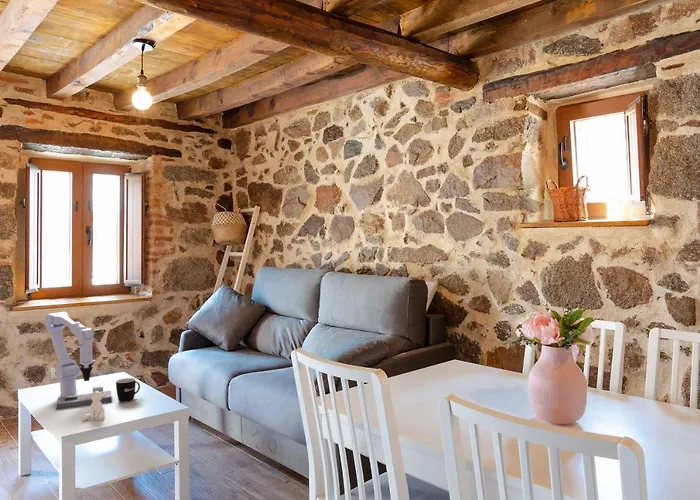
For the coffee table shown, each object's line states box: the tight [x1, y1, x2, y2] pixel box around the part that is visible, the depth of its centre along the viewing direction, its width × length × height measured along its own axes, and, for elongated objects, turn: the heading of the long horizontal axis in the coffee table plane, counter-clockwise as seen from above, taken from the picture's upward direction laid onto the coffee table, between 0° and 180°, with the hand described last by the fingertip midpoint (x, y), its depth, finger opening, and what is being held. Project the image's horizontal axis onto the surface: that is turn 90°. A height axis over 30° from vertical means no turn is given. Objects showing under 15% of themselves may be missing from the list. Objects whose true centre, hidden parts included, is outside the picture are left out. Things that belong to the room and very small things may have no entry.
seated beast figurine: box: [81, 391, 105, 422], centre depth 238 cm, size 10×9×12 cm
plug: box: [92, 384, 104, 393], centre depth 265 cm, size 4×5×7 cm
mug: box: [115, 377, 141, 403], centre depth 265 cm, size 12×9×10 cm
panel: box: [56, 390, 113, 410], centre depth 262 cm, size 12×24×3 cm, turn 116°
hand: (86, 379), depth 267 cm, fingers open, 7 cm apart
